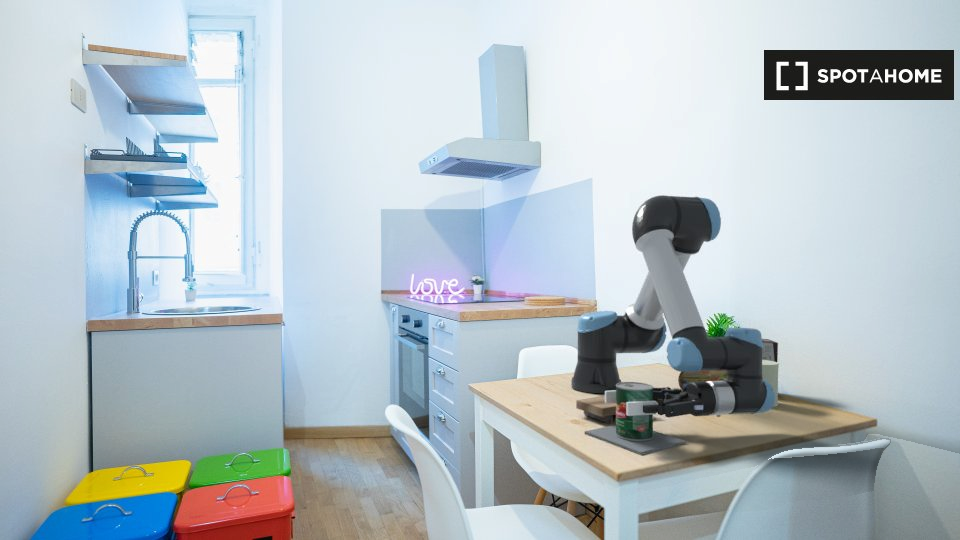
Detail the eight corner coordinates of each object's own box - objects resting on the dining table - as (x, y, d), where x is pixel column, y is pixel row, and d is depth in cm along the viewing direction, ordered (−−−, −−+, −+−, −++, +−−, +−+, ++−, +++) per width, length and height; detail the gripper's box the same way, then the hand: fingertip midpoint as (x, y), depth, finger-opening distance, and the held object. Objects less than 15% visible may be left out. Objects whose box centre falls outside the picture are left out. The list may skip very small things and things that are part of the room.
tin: (680, 396, 161) (681, 367, 161) (676, 393, 164) (677, 365, 164) (731, 396, 161) (732, 367, 161) (726, 393, 165) (727, 365, 165)
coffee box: (777, 398, 160) (778, 342, 159) (753, 397, 161) (754, 341, 161) (767, 391, 169) (768, 338, 168) (745, 390, 170) (746, 337, 170)
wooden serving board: (576, 416, 138) (576, 400, 138) (621, 407, 146) (621, 392, 146) (602, 425, 130) (602, 408, 130) (648, 416, 139) (648, 400, 139)
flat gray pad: (584, 433, 124) (584, 431, 124) (628, 424, 131) (628, 422, 131) (640, 454, 110) (640, 452, 110) (685, 443, 118) (685, 440, 118)
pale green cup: (736, 403, 154) (737, 359, 153) (747, 397, 160) (748, 356, 160) (772, 409, 147) (773, 364, 147) (782, 403, 154) (783, 360, 154)
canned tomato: (660, 437, 120) (661, 386, 120) (637, 443, 115) (637, 391, 115) (631, 428, 126) (631, 380, 126) (607, 434, 122) (608, 384, 122)
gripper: (740, 429, 114) (641, 435, 109) (679, 402, 135) (594, 406, 131) (740, 393, 114) (641, 397, 109) (679, 372, 135) (594, 375, 130)
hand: (615, 402), depth 120 cm, fingers open, 9 cm apart
